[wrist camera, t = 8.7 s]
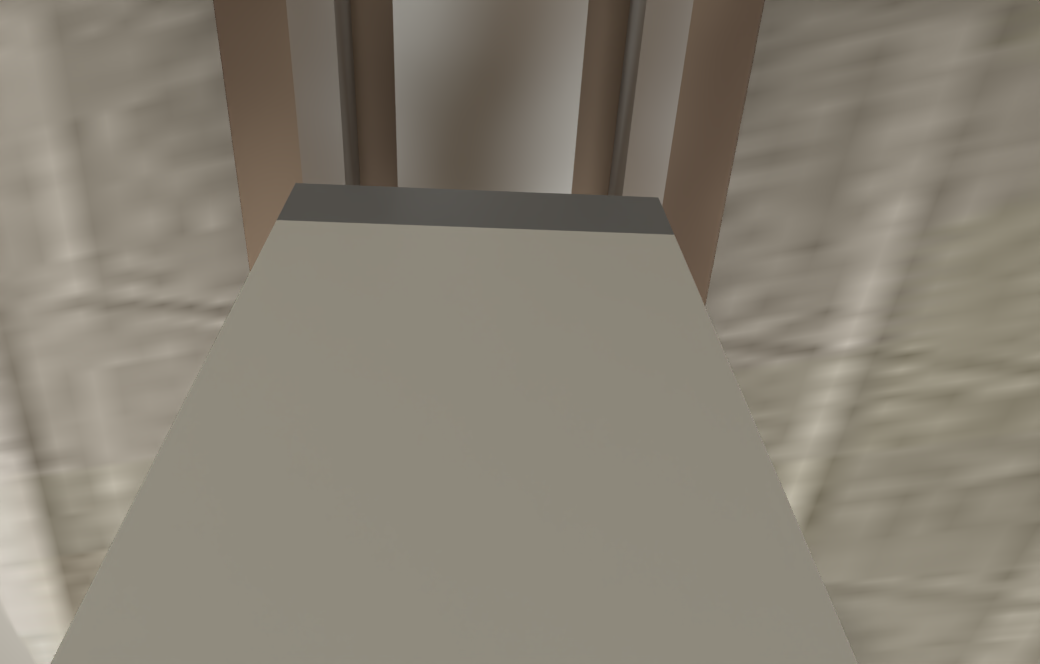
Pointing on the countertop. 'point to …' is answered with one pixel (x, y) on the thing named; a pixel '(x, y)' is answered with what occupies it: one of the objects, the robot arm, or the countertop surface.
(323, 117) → the rail board
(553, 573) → the block
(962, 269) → the countertop surface
